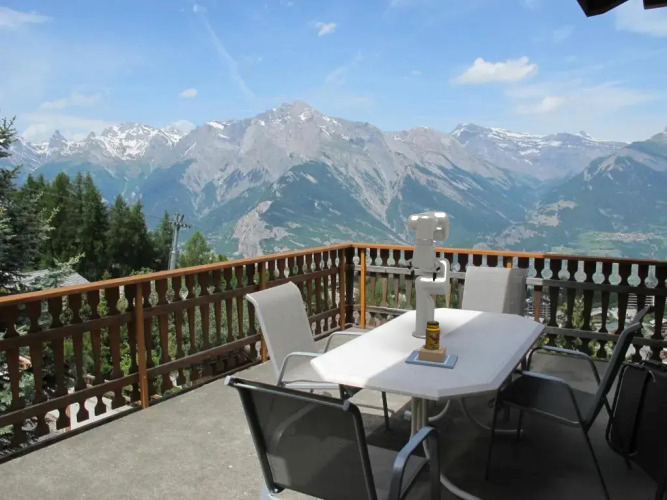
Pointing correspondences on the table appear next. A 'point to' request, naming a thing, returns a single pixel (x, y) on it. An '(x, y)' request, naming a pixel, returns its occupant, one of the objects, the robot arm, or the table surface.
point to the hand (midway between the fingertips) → (423, 280)
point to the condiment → (432, 336)
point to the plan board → (448, 365)
